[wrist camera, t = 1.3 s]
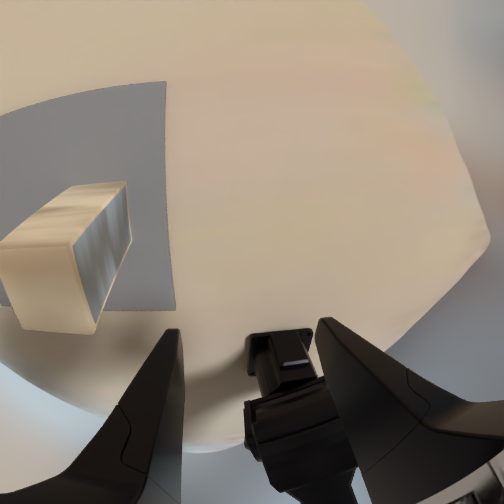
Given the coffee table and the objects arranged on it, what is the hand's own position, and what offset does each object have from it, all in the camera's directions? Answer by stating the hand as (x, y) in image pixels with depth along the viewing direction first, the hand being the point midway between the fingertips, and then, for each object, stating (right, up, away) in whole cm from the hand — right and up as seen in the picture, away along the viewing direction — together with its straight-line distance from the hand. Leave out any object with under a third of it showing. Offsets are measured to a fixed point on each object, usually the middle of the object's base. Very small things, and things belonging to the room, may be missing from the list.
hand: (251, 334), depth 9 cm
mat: (-16, +6, +9) cm, 19 cm away
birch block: (-11, +5, +9) cm, 15 cm away
